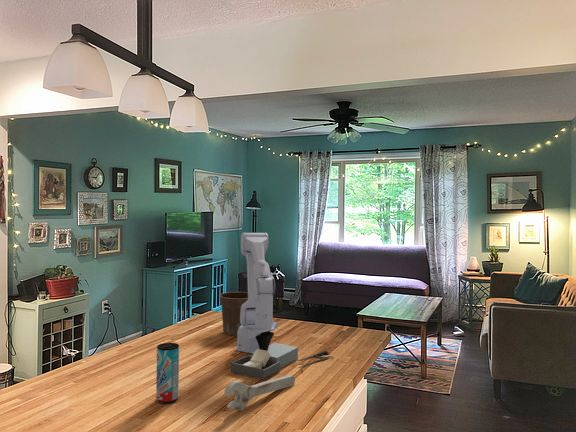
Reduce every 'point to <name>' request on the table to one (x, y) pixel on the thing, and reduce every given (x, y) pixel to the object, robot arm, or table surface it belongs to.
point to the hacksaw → (316, 360)
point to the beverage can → (167, 372)
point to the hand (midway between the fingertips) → (263, 354)
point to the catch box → (262, 374)
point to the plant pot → (232, 310)
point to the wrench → (254, 390)
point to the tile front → (254, 364)
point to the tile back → (261, 357)
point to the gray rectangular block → (282, 353)
